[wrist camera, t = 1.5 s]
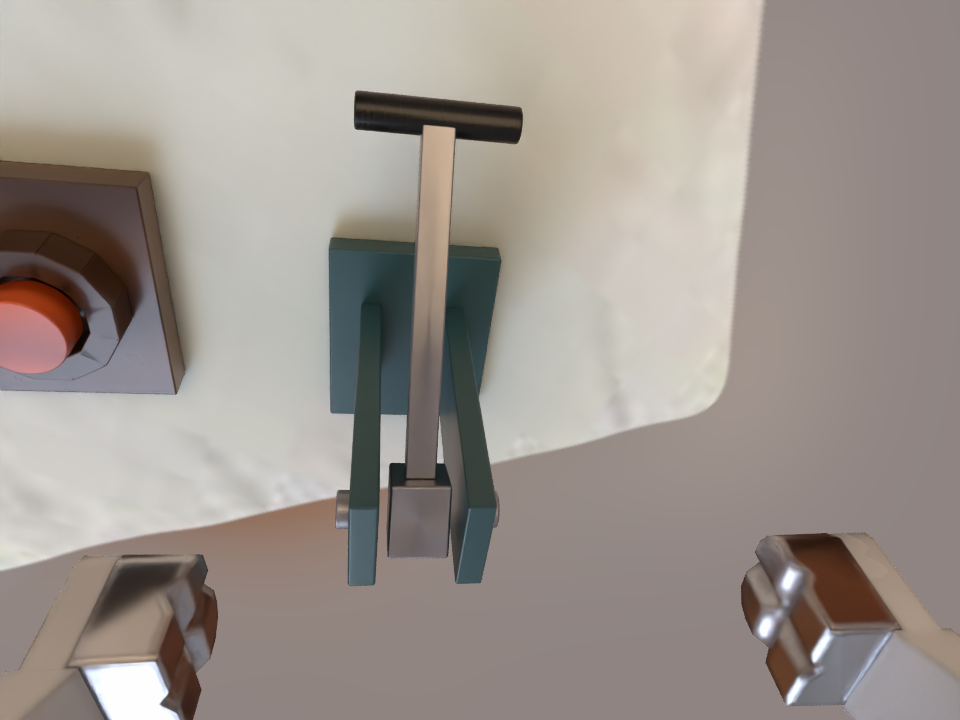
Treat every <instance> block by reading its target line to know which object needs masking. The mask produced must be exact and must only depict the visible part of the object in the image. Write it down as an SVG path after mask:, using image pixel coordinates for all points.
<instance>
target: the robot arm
mask: <svg viewBox="0 0 960 720" xmlns="http://www.w3.org/2000/svg"><path fill="white" fill-rule="evenodd" d="M755 553H756V555H757V557H758V559H759V561H760V562H759V563H757V564H756V565H755V566H754V567H752V568H751V569H749V570H748V571H747V572H746V574H745V577H744V580H743V583H742V585H741V601H742V603H741V604H742V608H743V611H744V615H745V619H746V621H747V623H748V626H749V628H750V630H751V632H752V634H753V635H754V636H755V637H756V638H758V639H759V640H760V641H761V642H763V643H764V644H765V645H766V646H767V647H769V649H768V654H767V658H766V664H767V667H768V669H769V671H770V673H771V675H772V677H773V679H774V681H775V683H776V686H777V688H778V690H779V692H780V694H781V696H782V698H783V701H784V703H785V705H786V706H817V705H819V706H820V705H844V706H843V709H844V710H845V711H846V712H847V713H848V714H849V715H850V716H851V717H852V718H853V719H854V720H960V635H959V634H958V633H956V632H955V631H953V630H952V629H940V628H939V626H938V625H937V623H936V622H935V621H934V619H933V618H932V617H931V615H930V614H929V613H928V611H927V610H926V608H925V607H924V606H923V604H922V603H921V602H920V600H919V599H918V598H917V596H916V595H915V594H914V592H913V591H912V590H911V588H910V587H909V585H908V584H907V583H906V581H905V580H904V579H903V577H902V576H901V575H900V573H899V572H898V571H897V569H896V568H895V566H894V565H893V564H892V562H891V561H890V560H889V558H888V557H887V556H886V555H885V553H884V552H883V550H882V549H881V548H880V547H879V545H878V543H877V542H876V541H875V540H874V539H873V538H872V537H870V536H869V535H868V534H866V533H839V534H837V533H836V534H827V533H820V534H819V533H817V534H795V535H773V536H766V537H765V538H763V539H762V540H761V541H760V542H759V544H758V547H757V549H756V551H755ZM207 572H208V569H207V566H206V563H205V560H204V557H203V555H197V554H196V555H100V556H99V555H94V556H84V557H83V558H82V559H81V560H80V561H79V562H78V563H77V564H76V565H75V566H74V567H73V568H72V570H71V572H70V574H69V576H68V578H67V580H66V582H65V583H64V585H63V587H62V589H61V591H60V593H59V595H58V596H57V598H56V600H55V602H54V604H53V606H52V608H51V610H50V612H49V613H48V615H47V617H46V619H45V621H44V623H43V625H42V626H41V629H40V630H39V632H38V634H37V636H36V638H35V640H34V641H33V644H32V645H31V647H30V649H29V651H28V653H27V655H26V657H25V658H24V660H23V662H22V664H21V666H20V668H19V670H16V671H5V672H4V673H3V674H2V675H0V720H193V718H194V715H195V711H196V708H197V704H198V701H199V697H200V694H201V687H200V684H199V681H198V678H197V675H196V672H197V671H198V670H199V669H200V668H201V667H202V666H203V665H204V664H205V663H206V662H207V661H208V660H209V659H210V658H211V654H212V650H213V646H214V642H215V638H216V629H217V620H218V610H217V600H216V597H215V593H214V590H213V589H211V588H210V587H208V586H207V585H205V584H204V581H205V578H206V575H207Z"/></svg>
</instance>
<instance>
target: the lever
mask: <svg viewBox="0 0 960 720" xmlns="http://www.w3.org/2000/svg"><path fill="white" fill-rule="evenodd" d="M522 125H523V113H522V109H521V108H520V107H515V106H506V105H496V104H486V103H476V102H466V101H457V100H447V99H437V98H427V97H417V96H407V95H398V94H388V93H378V92H368V91H356V92H355V100H354V127H355V129H356V130H366V131H377V132H388V133H398V134H409V135H420V156H419V177H418V198H417V219H416V240H415V261H414V281H413V302H412V323H411V344H410V365H409V386H408V407H407V428H406V448H405V463H390V465H389V485H388V509H387V551H388V558H390V559H394V558H395V559H396V558H446V557H447V556H448V549H449V534H450V518H451V503H452V485H451V482H450V478H449V475H448V471H447V468H446V465H445V464H441V463H437V447H438V430H439V413H440V396H441V379H442V361H443V344H444V327H445V310H446V293H447V276H448V259H449V242H450V224H451V207H452V190H453V173H454V156H455V139H464V140H475V141H485V142H496V143H507V144H517V143H518V142H519V140H520V137H521V132H522Z"/></svg>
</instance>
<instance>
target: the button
mask: <svg viewBox="0 0 960 720" xmlns="http://www.w3.org/2000/svg"><path fill="white" fill-rule="evenodd" d="M82 331H83V321H82V317H81V314H80V312H79V310H78V309H77V307H76V306H75V304H74V303H73V302H72V301H71V300H70V299H69V298H68V297H67V296H65V295H64V294H63V293H61V292H60V291H58V290H57V289H55V288H53V287H51V286H48V285H46V284H43V283H40V282H36V281H31V280H13V281H8V282H5V283H2V284H0V366H1V367H3V368H5V369H8V370H11V371H15V372H19V373H27V374H39V373H45V372H49V371H51V370H54V369H56V368H57V367H59V366H60V365H62V363H63V362H64V361H65V360H66V358H67V357H68V355H69V354H70V352H71V350H72V349H73V347H74V346H75V344H76V343H77V341H78V340H79V338H80V336H81V334H82Z"/></svg>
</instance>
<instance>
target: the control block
mask: <svg viewBox="0 0 960 720" xmlns="http://www.w3.org/2000/svg"><path fill="white" fill-rule="evenodd" d="M13 280H31V281H36V282H40V283H43V284H46V285H48V286H51V287H53V288H55V289H57V290H58V291H60V292H61V293H63V294H64V295H65V296H67V297H68V298H69V299H70V300H71V301H72V302H73V303H74V304H75V306H76V307H77V309H78V310H79V312H80V314H81V317H82V321H83V331H82V334H81V336H80V338H79V340H78V341H77V343H76V344H75V346H74V347H73V349H72V350H71V352H70V354H69V355H68V357H67V358H66V360H65V361H64V362H63V363H62V365H60V366H59V367H57V368H56V369H54V370H51V371H49V372H45V373H39V374H27V373H19V372H15V371H11V370H8V369H5V368H3V367H1V366H0V390H14V391H55V392H95V393H136V394H177V392H178V390H179V387H180V385H181V382H182V380H183V377H184V375H185V373H184V367H183V361H182V356H181V350H180V345H179V339H178V334H177V328H176V322H175V317H174V311H173V306H172V300H171V295H170V289H169V283H168V278H167V272H166V267H165V261H164V256H163V250H162V244H161V239H160V233H159V228H158V222H157V217H156V211H155V205H154V200H153V194H152V189H151V183H150V178H149V173H148V172H138V171H125V170H112V169H99V168H86V167H74V166H61V165H48V164H35V163H22V162H9V161H0V284H2V283H5V282H8V281H13Z"/></svg>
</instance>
